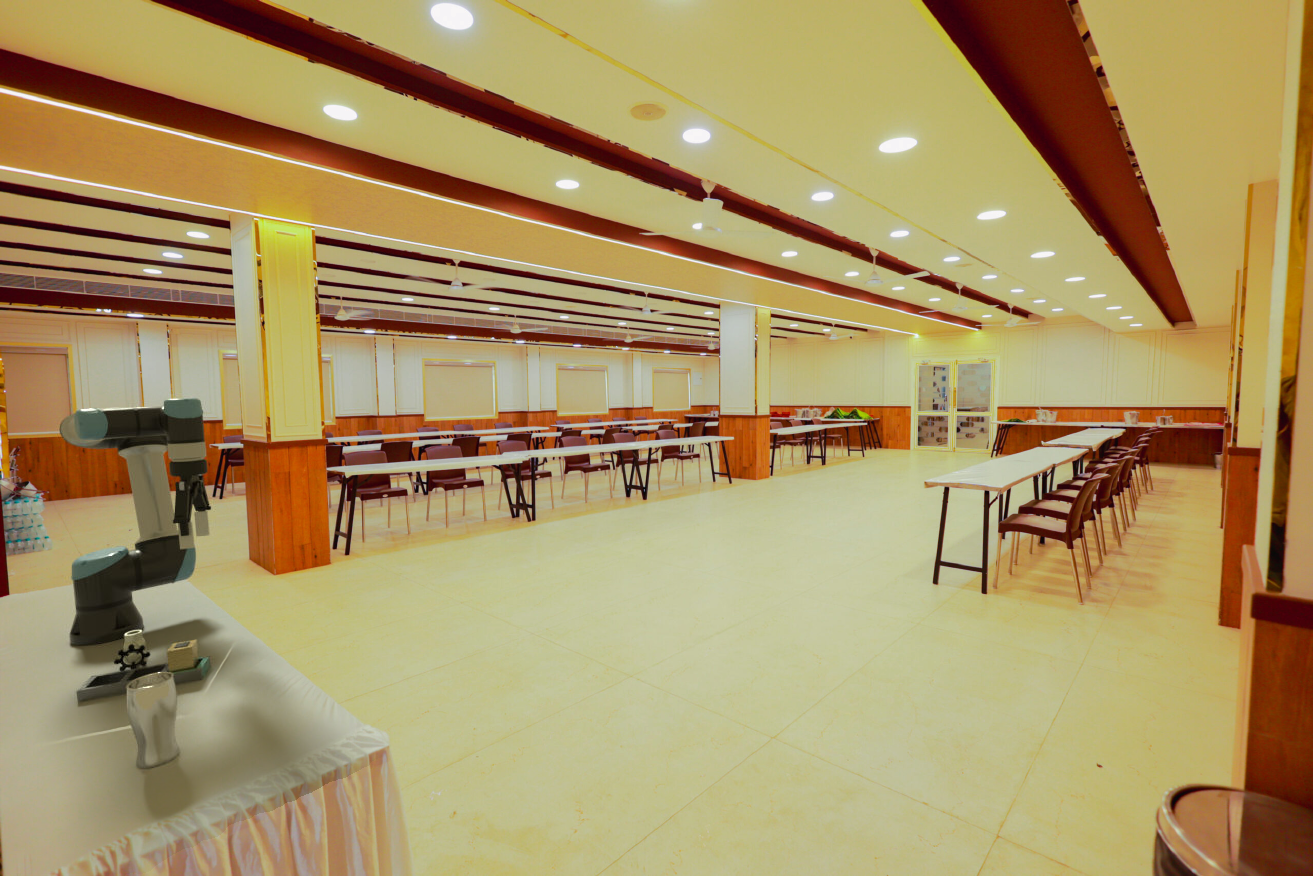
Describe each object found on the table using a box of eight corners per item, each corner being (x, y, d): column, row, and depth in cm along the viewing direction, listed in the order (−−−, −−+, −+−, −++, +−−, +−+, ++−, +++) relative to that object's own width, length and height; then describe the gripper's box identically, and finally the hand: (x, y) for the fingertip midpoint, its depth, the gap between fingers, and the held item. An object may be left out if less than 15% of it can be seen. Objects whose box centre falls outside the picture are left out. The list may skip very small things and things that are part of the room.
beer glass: (152, 748, 113) (144, 672, 111) (191, 745, 113) (184, 670, 112) (122, 772, 106) (114, 691, 104) (164, 769, 106) (156, 688, 105)
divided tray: (93, 688, 136) (91, 675, 135) (210, 668, 145) (209, 655, 144) (77, 704, 129) (76, 690, 129) (202, 681, 138) (200, 669, 138)
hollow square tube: (175, 674, 141) (172, 642, 140) (199, 669, 143) (196, 638, 142) (170, 682, 137) (166, 650, 136) (194, 678, 139) (191, 646, 138)
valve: (118, 658, 151) (115, 676, 142) (116, 633, 150) (112, 649, 141) (152, 651, 155) (151, 667, 146) (150, 626, 155) (149, 641, 145)
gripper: (184, 455, 160) (192, 532, 162) (151, 466, 138) (160, 556, 140) (218, 453, 163) (225, 529, 165) (191, 464, 141) (199, 551, 143)
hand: (195, 541), depth 152 cm, fingers open, 13 cm apart
